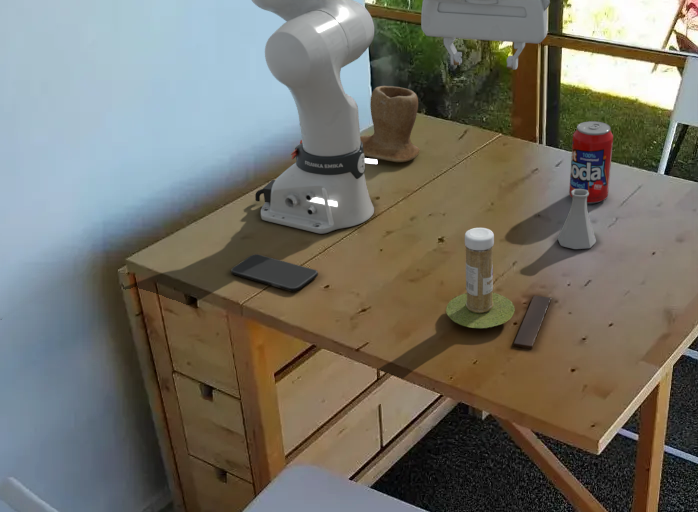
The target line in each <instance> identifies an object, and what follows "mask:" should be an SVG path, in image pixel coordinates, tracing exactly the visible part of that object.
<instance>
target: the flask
mask: <svg viewBox="0 0 698 512" xmlns="http://www.w3.org/2000/svg"><path fill="white" fill-rule="evenodd" d="M571 194H572V196H573V198H572V197H571V198H572V199H571V205H570V208H569V212H568V214H567V216H566V219H565V221H564V224H563V226H562V228H561V230H560V232H559V234H558V236H557V240H558V242H559V243H558V244H559V245H560V246H561V247H565V248H568V249H571V250H581V249H582V250H583V249H591V248H592V247H593V246H594V245H595V244H596V242H597V240H596V235H595V233H594V229H593V225H592V223H591V219H590V216H589V212H588V204H587V196H588V195H589V192H588V190H585V189H574V190H573V191H572V192H571Z"/></svg>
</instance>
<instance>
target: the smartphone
mask: <svg viewBox="0 0 698 512" xmlns="http://www.w3.org/2000/svg"><path fill="white" fill-rule="evenodd" d="M230 273H231V275H233V276H238V277H241V278H244V279H248V280H251V281H255V282H258V283H260V284H261V283H262V284H264V285H268V286H271V287H275V288H279V289H282V290H285V291H289V292H297V291H299V290H301V289H302V288H303V287H304V286H306V285H308V284H309V283H311V281H312V280H315V278H317V277H318V275H319V272H318V270H316V269H313V268H310V267H307V266H302V265H298V264H295V263H291V262H288V261H283V260H280V259H277V258H272V257H269V256H267V255H261V254H258V253H257V254H252V255H249V257H247V258H245V259H244V260H242V261H240V262H239V263H238V264H236V265H234V267H232V268H231V270H230Z"/></svg>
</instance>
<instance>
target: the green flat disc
mask: <svg viewBox="0 0 698 512" xmlns="http://www.w3.org/2000/svg"><path fill="white" fill-rule="evenodd" d="M492 301H493V307H492V309H491V310H489V311H487V312H482V313H476V312H472V311H470V310H469V309H468V308H467V307H466V302H467V292H466V293H461V294H460V295H457V296H455V297H453V298H452V299H451V300H449V302H448V303H447V305H446V308H445V313H446V315H447V316H448V318H449V319H450V320H452V322H454V323H456V324H458V325H460V326H462V327H466V328H472V329H488V328H493V327H497V326H500V325H503V324H505V323H507V322H508V321H509V320H511V319H512V317H513V316H514V314H515V311H516V310H515V309H516V308H515V305H514V303H513V301H512V300H511V299H509V298H508V297H506V296H504V295H502V294H499V293H496V292H493V291H492Z"/></svg>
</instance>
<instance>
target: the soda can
mask: <svg viewBox="0 0 698 512" xmlns="http://www.w3.org/2000/svg"><path fill="white" fill-rule="evenodd" d="M571 143H572V144H571V158H570V172H569V173H570V175H569V190H568V191H569V192H568V193H569V196H570V198H573V196H572V194H571V192H572V191H573V190H574V189H585V190H588V192H589V195H588V196H587V205H594V204H598V203H600V202H602V201H605V200H606V199H607V198H608V196H609V191H610V178H611V169H612V158H613V157H612V156H613V144H614V134H613V133H612V130H611V126H610V125H609V124H608V123H605V122H602V121H595V120H589V121H584V122H580V123H579V124H577V125H576V130H575V131H574V132H573V134H572V142H571Z"/></svg>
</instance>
